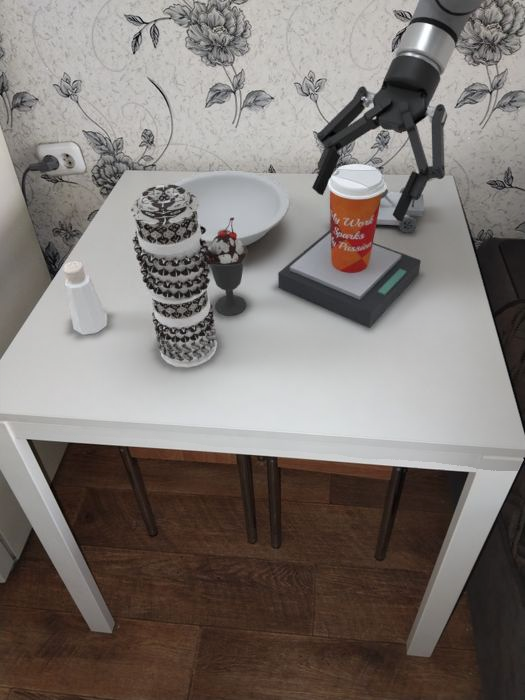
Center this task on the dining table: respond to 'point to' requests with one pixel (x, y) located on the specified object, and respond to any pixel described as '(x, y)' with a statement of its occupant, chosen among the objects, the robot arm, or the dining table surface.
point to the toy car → (389, 205)
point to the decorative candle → (175, 273)
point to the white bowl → (237, 203)
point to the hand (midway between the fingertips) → (355, 204)
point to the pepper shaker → (83, 300)
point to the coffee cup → (354, 215)
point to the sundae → (227, 269)
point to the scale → (349, 281)
